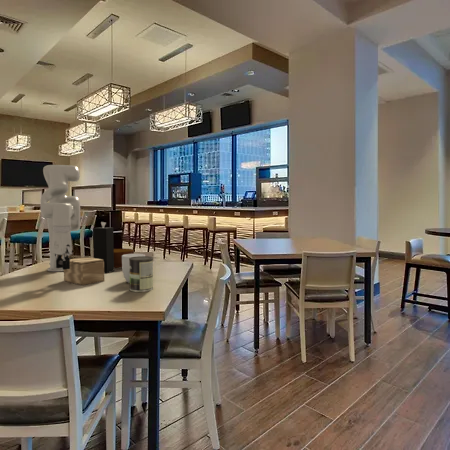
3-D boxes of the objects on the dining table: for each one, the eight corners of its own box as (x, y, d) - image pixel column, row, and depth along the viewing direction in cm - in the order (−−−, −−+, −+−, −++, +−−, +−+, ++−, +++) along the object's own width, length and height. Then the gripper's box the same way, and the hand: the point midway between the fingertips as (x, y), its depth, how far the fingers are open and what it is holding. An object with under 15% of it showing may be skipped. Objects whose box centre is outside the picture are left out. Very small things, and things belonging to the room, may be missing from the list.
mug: (150, 277, 184) (149, 252, 183) (155, 282, 174) (155, 255, 173) (120, 280, 177) (119, 254, 176) (124, 285, 167) (124, 257, 166)
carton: (64, 280, 176) (63, 261, 175) (86, 277, 185) (85, 258, 185) (81, 285, 166) (81, 264, 166) (104, 281, 176) (104, 261, 175)
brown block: (140, 266, 218) (140, 249, 218) (117, 270, 204) (117, 253, 203) (120, 263, 228) (120, 247, 227) (97, 267, 213) (97, 251, 212)
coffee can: (127, 292, 153) (127, 259, 152) (131, 286, 163) (131, 256, 163) (151, 291, 154) (151, 259, 153) (154, 286, 164) (154, 256, 163)
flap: (52, 263, 171) (52, 259, 171) (86, 259, 185) (86, 255, 184) (69, 266, 162) (69, 263, 162) (103, 262, 175) (103, 258, 175)
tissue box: (107, 273, 195) (106, 222, 193) (93, 272, 196) (92, 222, 195) (114, 270, 203) (113, 221, 201) (101, 270, 204) (100, 221, 203)
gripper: (44, 229, 168) (46, 267, 169) (63, 231, 158) (64, 271, 159) (60, 228, 174) (61, 265, 175) (79, 230, 164) (80, 269, 165)
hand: (63, 268), depth 167 cm, fingers closed on flap, 5 cm apart
